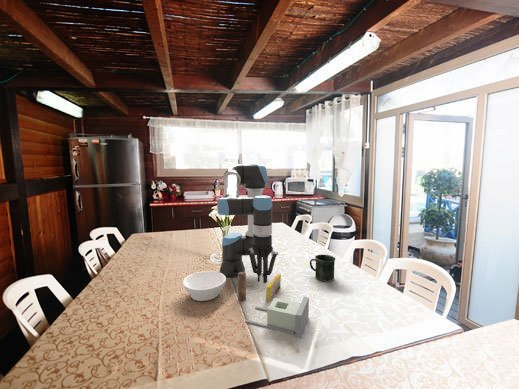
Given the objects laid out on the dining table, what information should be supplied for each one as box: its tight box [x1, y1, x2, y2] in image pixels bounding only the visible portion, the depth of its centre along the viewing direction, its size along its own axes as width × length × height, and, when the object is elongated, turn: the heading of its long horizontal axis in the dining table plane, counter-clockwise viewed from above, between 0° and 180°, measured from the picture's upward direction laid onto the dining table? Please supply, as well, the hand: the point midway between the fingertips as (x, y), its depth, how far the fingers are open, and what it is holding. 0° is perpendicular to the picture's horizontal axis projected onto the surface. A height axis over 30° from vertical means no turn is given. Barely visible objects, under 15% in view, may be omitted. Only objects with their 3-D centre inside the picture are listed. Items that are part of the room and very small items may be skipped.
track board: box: [244, 295, 310, 339], centre depth 104 cm, size 24×14×10 cm, turn 68°
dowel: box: [237, 271, 247, 302], centre depth 121 cm, size 4×4×14 cm
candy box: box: [265, 273, 282, 302], centre depth 127 cm, size 16×2×8 cm, turn 157°
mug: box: [309, 254, 336, 282], centre depth 147 cm, size 11×15×12 cm
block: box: [266, 297, 301, 333], centre depth 103 cm, size 12×9×7 cm
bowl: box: [182, 270, 227, 302], centre depth 128 cm, size 21×21×8 cm
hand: (262, 289), depth 106 cm, fingers closed
